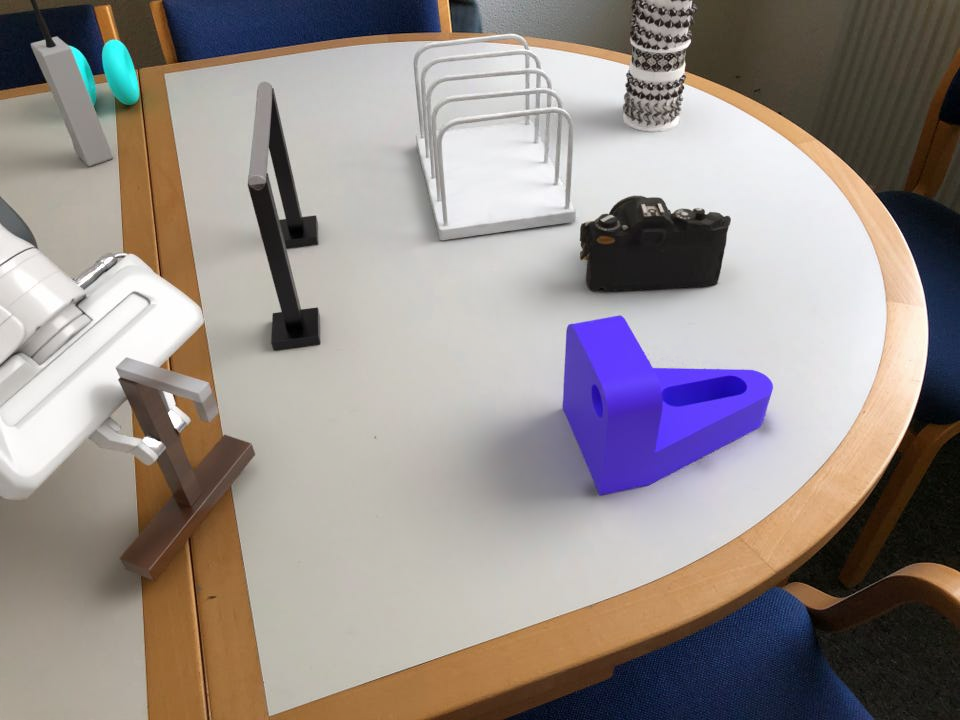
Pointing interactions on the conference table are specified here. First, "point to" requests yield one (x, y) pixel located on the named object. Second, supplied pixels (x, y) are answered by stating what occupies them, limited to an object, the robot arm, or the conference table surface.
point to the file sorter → (492, 155)
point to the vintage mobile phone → (71, 96)
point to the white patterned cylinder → (657, 63)
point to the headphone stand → (177, 464)
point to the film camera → (653, 246)
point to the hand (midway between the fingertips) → (170, 443)
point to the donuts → (112, 72)
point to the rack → (280, 224)
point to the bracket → (649, 407)
